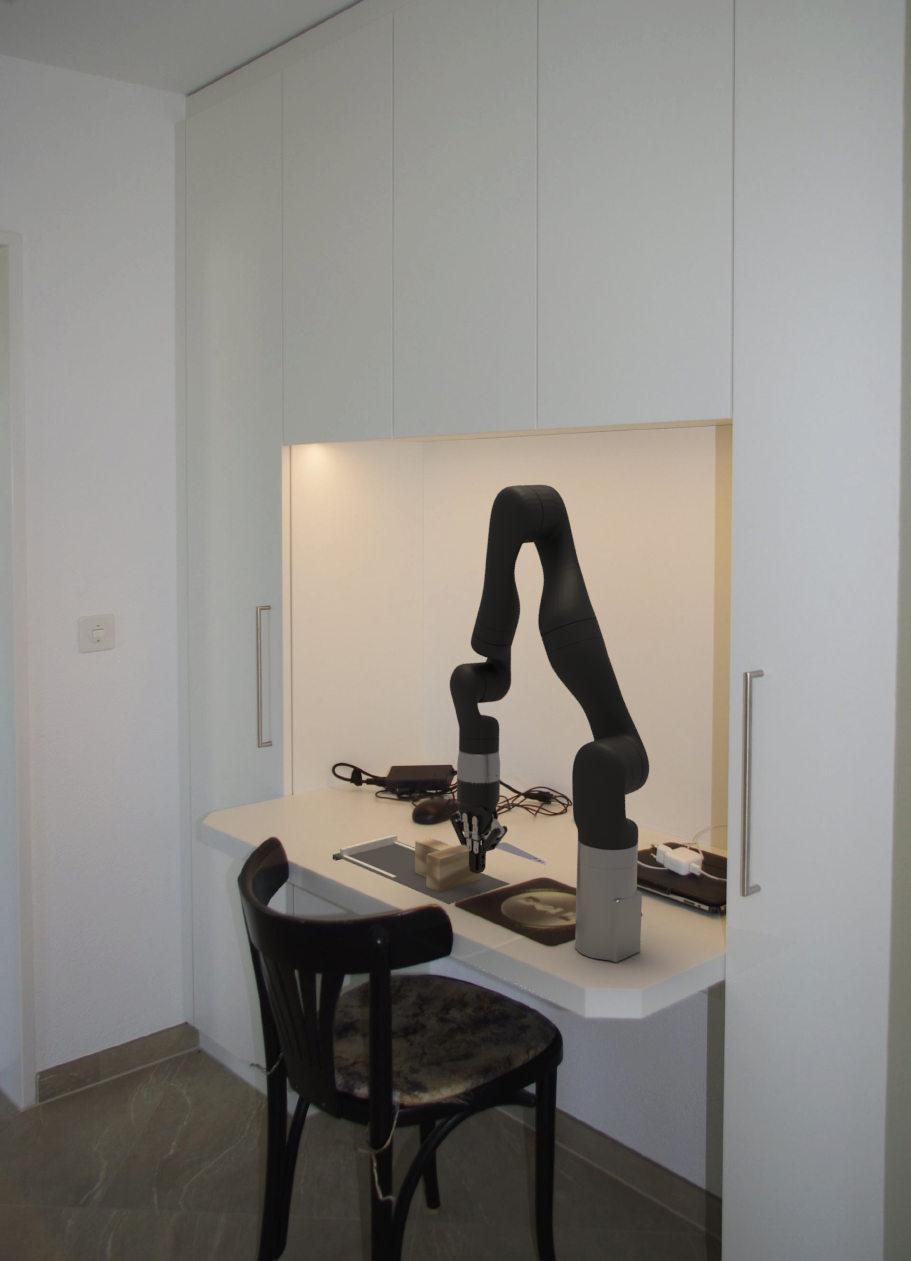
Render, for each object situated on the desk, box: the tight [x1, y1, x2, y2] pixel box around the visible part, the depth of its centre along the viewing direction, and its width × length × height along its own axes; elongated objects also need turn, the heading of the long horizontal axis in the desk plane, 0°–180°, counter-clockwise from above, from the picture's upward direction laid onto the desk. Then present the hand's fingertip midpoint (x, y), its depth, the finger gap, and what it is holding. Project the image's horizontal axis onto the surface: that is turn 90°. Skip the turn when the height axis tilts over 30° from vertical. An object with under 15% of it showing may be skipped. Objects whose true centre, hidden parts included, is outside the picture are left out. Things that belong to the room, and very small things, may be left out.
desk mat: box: [332, 834, 510, 905], centre depth 188 cm, size 34×15×2 cm, turn 43°
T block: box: [414, 837, 480, 892], centre depth 183 cm, size 10×10×6 cm
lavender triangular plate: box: [495, 842, 547, 866], centre depth 198 cm, size 8×1×15 cm
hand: (476, 871), depth 176 cm, fingers closed
